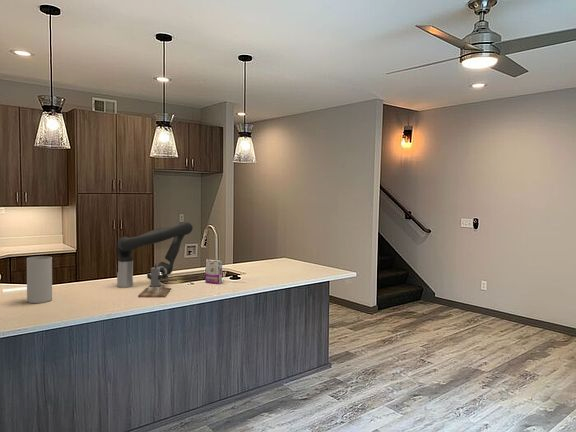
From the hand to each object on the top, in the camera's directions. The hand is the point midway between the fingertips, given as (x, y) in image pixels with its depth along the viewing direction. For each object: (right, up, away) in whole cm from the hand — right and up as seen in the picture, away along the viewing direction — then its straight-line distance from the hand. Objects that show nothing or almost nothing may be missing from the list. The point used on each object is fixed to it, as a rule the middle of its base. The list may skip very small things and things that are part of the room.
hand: (154, 278), depth 266 cm
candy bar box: (+30, -9, +38) cm, 50 cm away
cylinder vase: (-60, -10, -21) cm, 64 cm away
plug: (0, -8, +3) cm, 9 cm away
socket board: (-1, -10, +3) cm, 11 cm away
